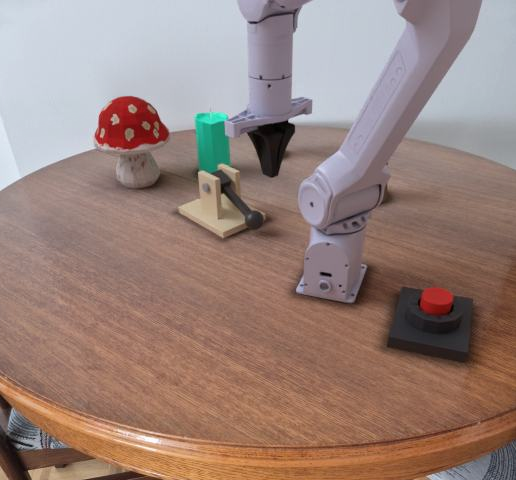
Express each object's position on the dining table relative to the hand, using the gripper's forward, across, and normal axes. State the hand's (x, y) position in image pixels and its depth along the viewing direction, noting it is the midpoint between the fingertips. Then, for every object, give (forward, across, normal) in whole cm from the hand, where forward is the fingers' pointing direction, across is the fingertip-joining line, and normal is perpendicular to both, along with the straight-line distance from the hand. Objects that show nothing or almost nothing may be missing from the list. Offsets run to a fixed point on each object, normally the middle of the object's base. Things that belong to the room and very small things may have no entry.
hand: (270, 174), depth 80 cm
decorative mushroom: (+10, +4, -31) cm, 33 cm away
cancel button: (+7, +1, +31) cm, 32 cm away
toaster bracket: (+10, +2, -10) cm, 14 cm away
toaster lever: (+7, +2, -6) cm, 10 cm away
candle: (+10, -8, -25) cm, 28 cm away
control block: (+10, +1, +31) cm, 32 cm away
